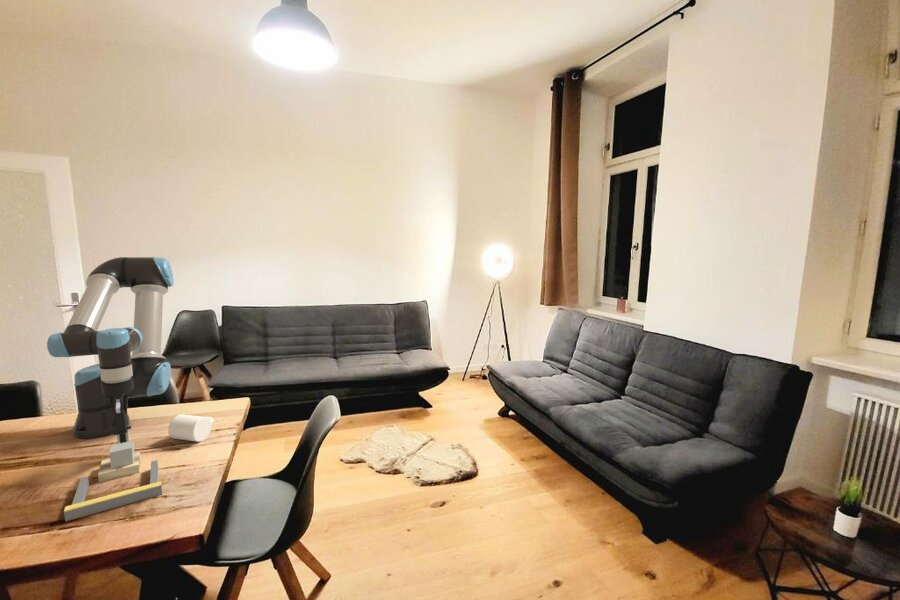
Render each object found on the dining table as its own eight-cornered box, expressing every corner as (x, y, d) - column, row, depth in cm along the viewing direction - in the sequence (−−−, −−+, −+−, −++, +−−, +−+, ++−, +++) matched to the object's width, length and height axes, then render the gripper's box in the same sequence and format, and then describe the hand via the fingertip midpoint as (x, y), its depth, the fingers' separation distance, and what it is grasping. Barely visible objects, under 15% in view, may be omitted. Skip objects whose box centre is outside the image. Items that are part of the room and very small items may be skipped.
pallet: (103, 469, 119) (101, 460, 119) (140, 460, 125) (140, 451, 124) (99, 484, 112) (98, 474, 112) (139, 474, 117) (138, 464, 117)
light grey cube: (113, 460, 119) (111, 445, 118) (134, 456, 121) (133, 440, 121) (111, 468, 114) (109, 452, 114) (133, 463, 117) (131, 447, 117)
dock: (76, 488, 109) (75, 478, 109) (162, 466, 120) (161, 458, 120) (65, 521, 97) (63, 511, 96) (162, 494, 107) (161, 484, 107)
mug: (194, 446, 133) (192, 423, 132) (168, 442, 135) (166, 420, 133) (221, 429, 144) (219, 408, 143) (197, 426, 146) (196, 406, 145)
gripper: (103, 375, 125) (111, 446, 129) (98, 388, 115) (106, 464, 118) (134, 371, 130) (140, 439, 133) (131, 383, 119) (138, 457, 122)
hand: (124, 451), depth 126 cm, fingers closed
